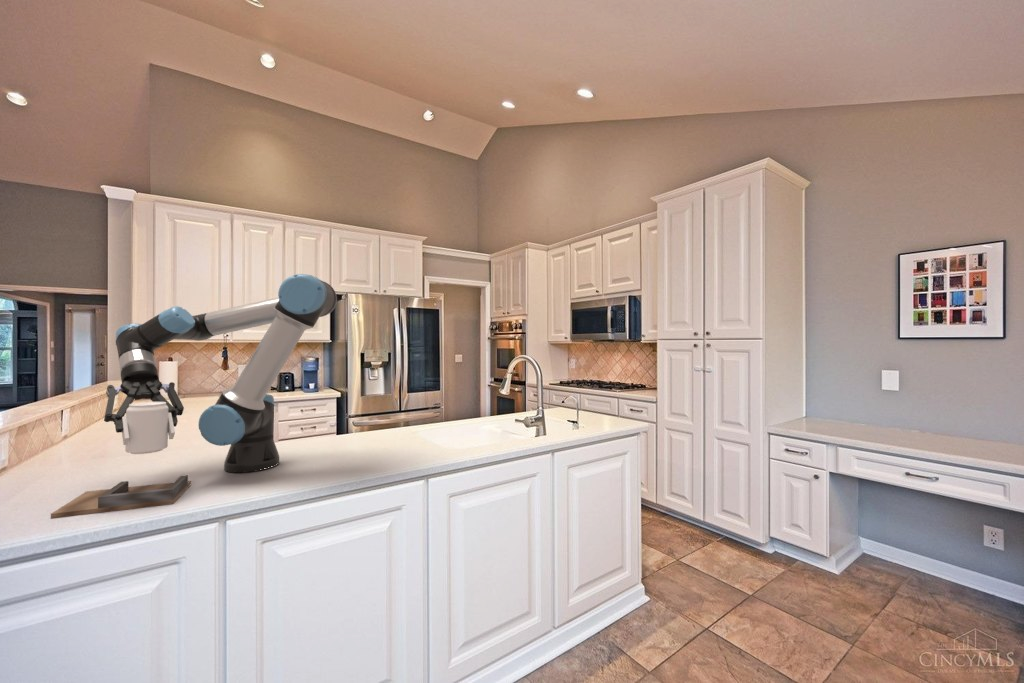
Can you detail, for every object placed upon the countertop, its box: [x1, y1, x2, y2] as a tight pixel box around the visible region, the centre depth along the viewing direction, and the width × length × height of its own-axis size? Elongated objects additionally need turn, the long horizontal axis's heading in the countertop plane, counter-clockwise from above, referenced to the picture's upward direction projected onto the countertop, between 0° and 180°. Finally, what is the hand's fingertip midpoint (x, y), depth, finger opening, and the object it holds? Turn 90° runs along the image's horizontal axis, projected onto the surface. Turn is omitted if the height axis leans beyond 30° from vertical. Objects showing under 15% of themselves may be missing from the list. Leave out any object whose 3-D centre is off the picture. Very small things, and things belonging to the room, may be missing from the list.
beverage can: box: [124, 401, 169, 455], centre depth 108 cm, size 8×8×12 cm
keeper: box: [50, 474, 192, 519], centre depth 107 cm, size 22×16×4 cm
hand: (150, 438), depth 105 cm, fingers closed on beverage can, 8 cm apart
